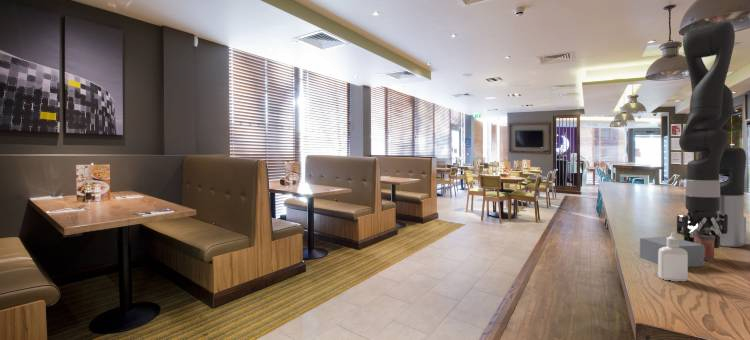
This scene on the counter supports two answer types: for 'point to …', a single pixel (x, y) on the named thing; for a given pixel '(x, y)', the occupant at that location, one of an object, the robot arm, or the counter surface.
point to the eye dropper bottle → (673, 261)
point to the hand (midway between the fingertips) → (701, 248)
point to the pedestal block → (652, 245)
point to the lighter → (706, 243)
